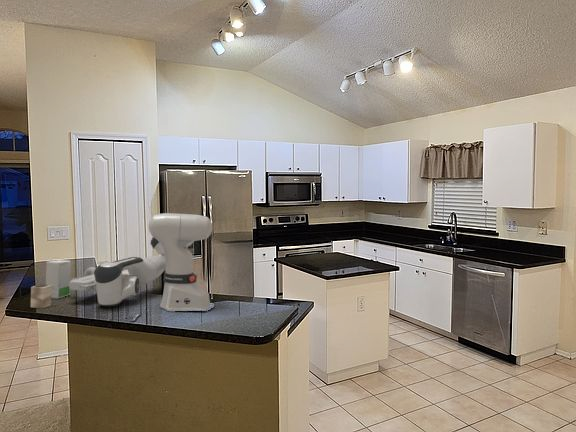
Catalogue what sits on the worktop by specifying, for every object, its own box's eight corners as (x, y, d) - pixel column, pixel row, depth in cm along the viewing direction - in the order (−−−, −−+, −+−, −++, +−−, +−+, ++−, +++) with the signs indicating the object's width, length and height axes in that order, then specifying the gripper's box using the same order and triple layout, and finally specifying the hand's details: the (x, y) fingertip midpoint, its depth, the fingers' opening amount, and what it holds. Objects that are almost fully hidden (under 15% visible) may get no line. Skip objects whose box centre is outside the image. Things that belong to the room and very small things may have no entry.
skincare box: (57, 299, 179) (58, 262, 178) (43, 297, 180) (44, 261, 179) (71, 295, 187) (72, 260, 186) (57, 293, 188) (58, 259, 187)
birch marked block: (51, 305, 169) (51, 284, 169) (42, 308, 164) (43, 287, 164) (39, 304, 170) (40, 283, 169) (30, 307, 165) (31, 286, 164)
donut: (101, 288, 203) (101, 267, 202) (94, 289, 200) (95, 268, 199) (88, 285, 208) (89, 265, 207) (81, 286, 205) (82, 266, 204)
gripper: (88, 295, 171) (56, 292, 172) (114, 285, 191) (85, 283, 192) (89, 279, 170) (57, 276, 172) (115, 271, 191) (86, 269, 192)
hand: (72, 280), depth 182 cm, fingers closed
